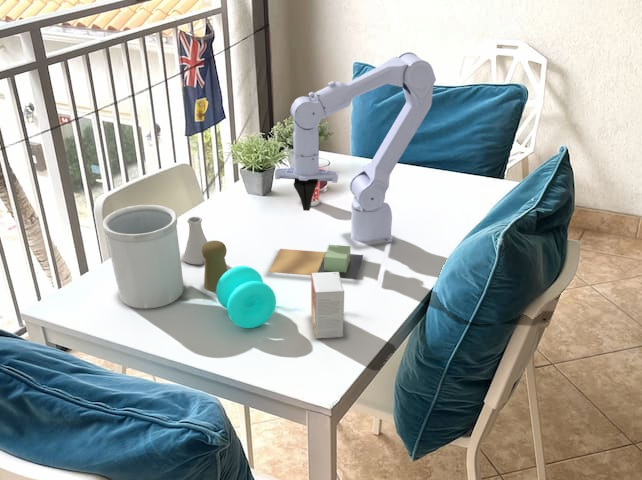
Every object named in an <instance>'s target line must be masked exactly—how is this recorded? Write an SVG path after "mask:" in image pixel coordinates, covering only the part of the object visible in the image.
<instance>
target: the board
mask: <svg viewBox="0 0 642 480" xmlns="http://www.w3.org/2000/svg"><path fill="white" fill-rule="evenodd" d="M325 254H326V251H316V250H315V251H314V250H303V249H291V248H290V249H288V248H280V249H279V250H278V252H277V254H276V256H275V258H274V260H273V261H272V263H271V266H270V267H269V269H268V273H274V274H275V273H276V274H287V275H300V276H311V273H323V272H334V271H324V256H325ZM363 258H364V254H354V253H350V262H349V265H348V268H347V271H346V272H339V274H340V279H349V280H357V278H358V275H359V272H360V268H361V265H362V261H363Z"/></svg>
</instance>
